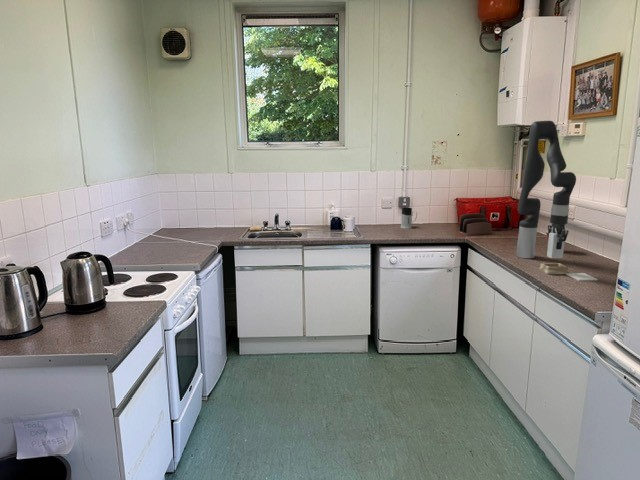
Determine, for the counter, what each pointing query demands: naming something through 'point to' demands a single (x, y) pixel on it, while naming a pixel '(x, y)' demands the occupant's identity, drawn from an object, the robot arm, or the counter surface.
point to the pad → (581, 276)
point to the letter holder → (474, 224)
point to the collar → (553, 268)
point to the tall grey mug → (407, 217)
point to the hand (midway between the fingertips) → (555, 247)
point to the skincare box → (554, 247)
